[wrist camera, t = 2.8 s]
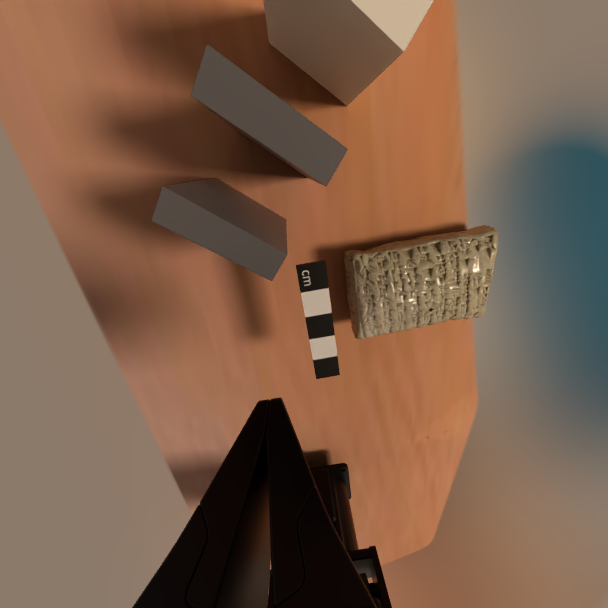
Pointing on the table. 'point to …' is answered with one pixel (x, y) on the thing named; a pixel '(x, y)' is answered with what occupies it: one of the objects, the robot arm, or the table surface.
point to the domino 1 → (265, 118)
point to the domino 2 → (225, 224)
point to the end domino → (343, 38)
